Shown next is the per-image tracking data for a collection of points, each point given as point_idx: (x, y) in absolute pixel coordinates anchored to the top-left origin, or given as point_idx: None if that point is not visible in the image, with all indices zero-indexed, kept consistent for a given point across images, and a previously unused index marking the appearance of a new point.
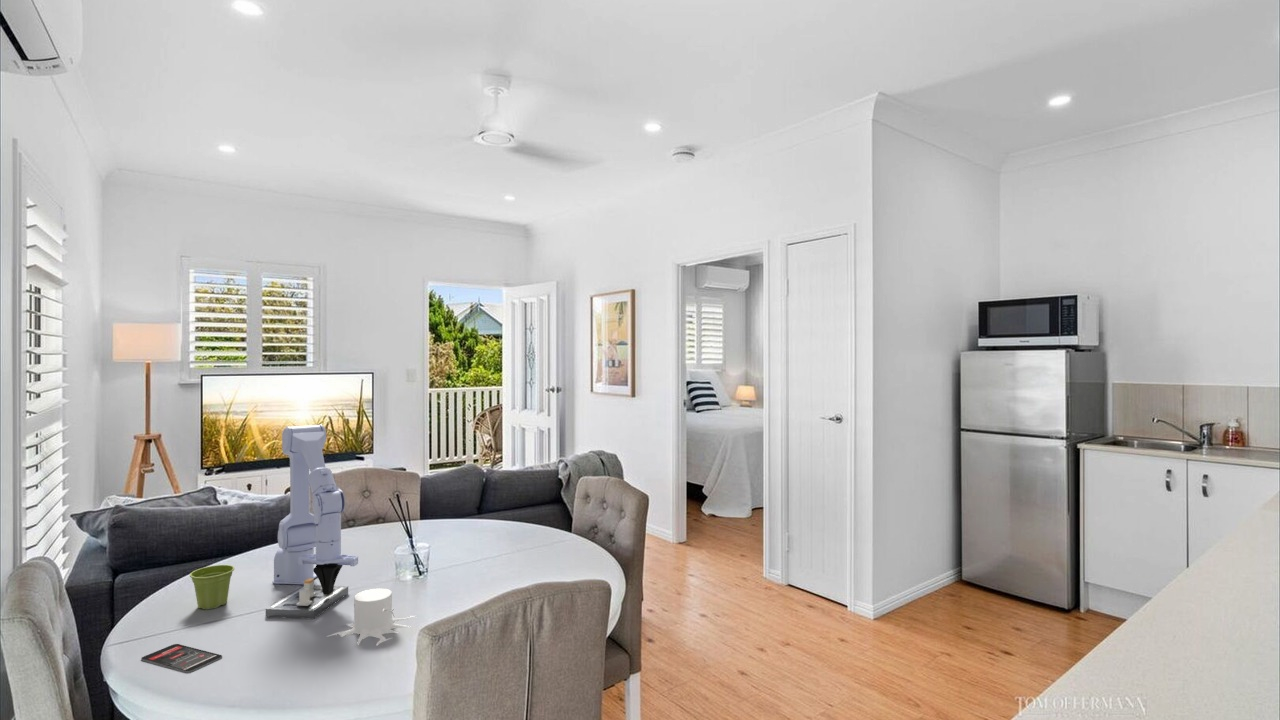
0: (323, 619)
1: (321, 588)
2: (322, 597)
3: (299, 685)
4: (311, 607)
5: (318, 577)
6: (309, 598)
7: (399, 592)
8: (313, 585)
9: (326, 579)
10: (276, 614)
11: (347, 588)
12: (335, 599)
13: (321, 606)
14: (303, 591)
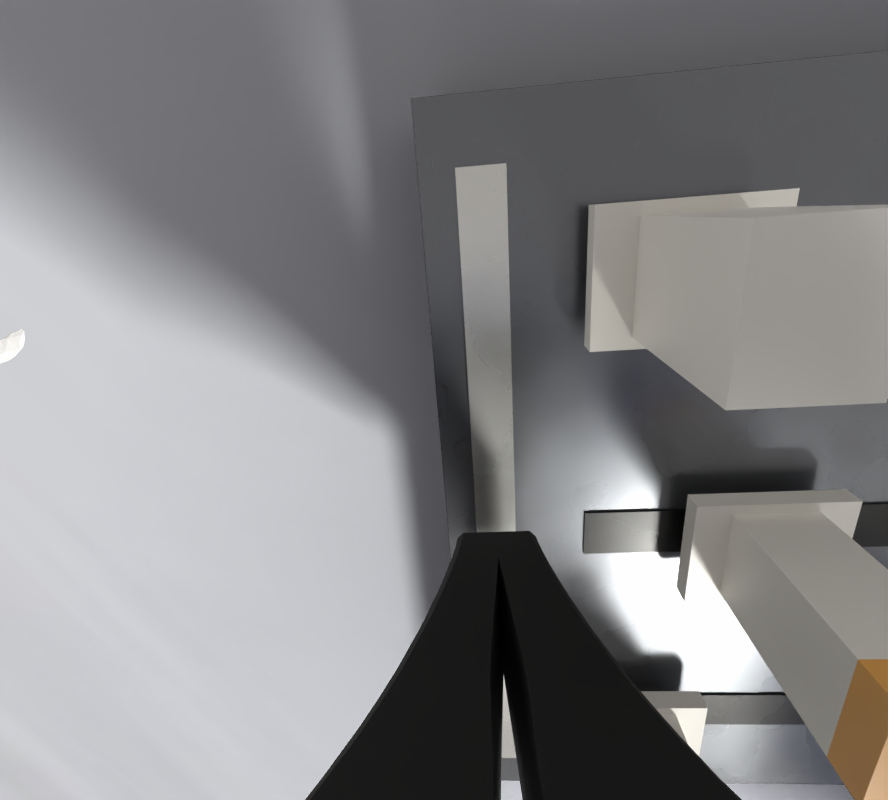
0: (299, 133)
1: (690, 704)
2: (567, 535)
3: None
4: (521, 216)
5: (696, 781)
6: (646, 347)
7: (103, 751)
8: (779, 675)
9: (453, 730)
10: None
11: None
12: None
13: (429, 311)
14: (809, 213)
